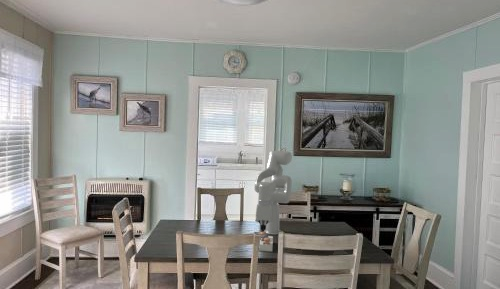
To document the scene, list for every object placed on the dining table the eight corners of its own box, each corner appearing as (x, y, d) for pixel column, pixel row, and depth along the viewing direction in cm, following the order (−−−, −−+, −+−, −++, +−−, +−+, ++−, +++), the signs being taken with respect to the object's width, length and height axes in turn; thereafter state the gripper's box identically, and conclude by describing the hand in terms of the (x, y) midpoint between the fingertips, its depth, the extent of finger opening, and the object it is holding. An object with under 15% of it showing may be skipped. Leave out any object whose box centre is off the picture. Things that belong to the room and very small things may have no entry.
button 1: (260, 236, 252) (260, 231, 252) (266, 237, 252) (266, 232, 252) (259, 238, 248) (259, 233, 248) (265, 238, 248) (266, 233, 248)
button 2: (263, 242, 239) (264, 237, 239) (270, 243, 239) (270, 237, 238) (263, 244, 235) (263, 239, 235) (270, 245, 235) (270, 239, 235)
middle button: (261, 239, 246) (262, 234, 245) (268, 239, 245) (268, 234, 245) (261, 241, 242) (261, 236, 241) (267, 241, 241) (268, 236, 241)
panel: (257, 241, 253) (257, 235, 253) (272, 242, 253) (272, 236, 252) (256, 250, 234) (256, 244, 234) (272, 251, 234) (272, 245, 234)
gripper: (275, 202, 252) (274, 230, 253) (252, 201, 253) (252, 228, 254) (275, 204, 245) (274, 233, 245) (252, 203, 246) (251, 231, 246)
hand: (263, 230), depth 250 cm, fingers closed
